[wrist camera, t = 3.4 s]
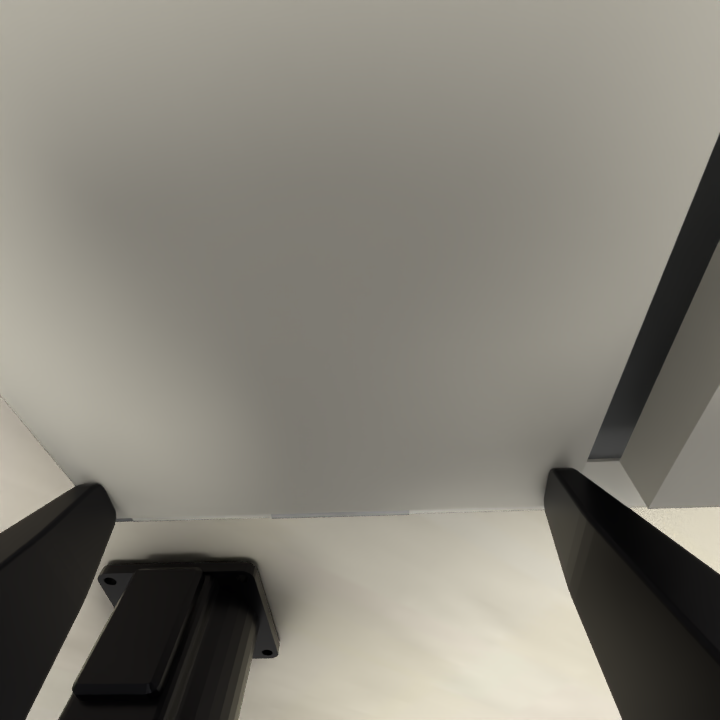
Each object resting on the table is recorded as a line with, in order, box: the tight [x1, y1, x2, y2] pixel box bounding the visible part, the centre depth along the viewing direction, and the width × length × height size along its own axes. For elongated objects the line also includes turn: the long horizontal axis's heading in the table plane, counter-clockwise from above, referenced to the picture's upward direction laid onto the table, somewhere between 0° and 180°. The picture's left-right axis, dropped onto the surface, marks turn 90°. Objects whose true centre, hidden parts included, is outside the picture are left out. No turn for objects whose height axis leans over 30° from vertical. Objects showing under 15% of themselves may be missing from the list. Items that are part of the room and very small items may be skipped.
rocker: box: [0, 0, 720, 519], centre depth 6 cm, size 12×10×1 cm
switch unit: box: [116, 133, 720, 522], centre depth 8 cm, size 15×24×4 cm, turn 94°
